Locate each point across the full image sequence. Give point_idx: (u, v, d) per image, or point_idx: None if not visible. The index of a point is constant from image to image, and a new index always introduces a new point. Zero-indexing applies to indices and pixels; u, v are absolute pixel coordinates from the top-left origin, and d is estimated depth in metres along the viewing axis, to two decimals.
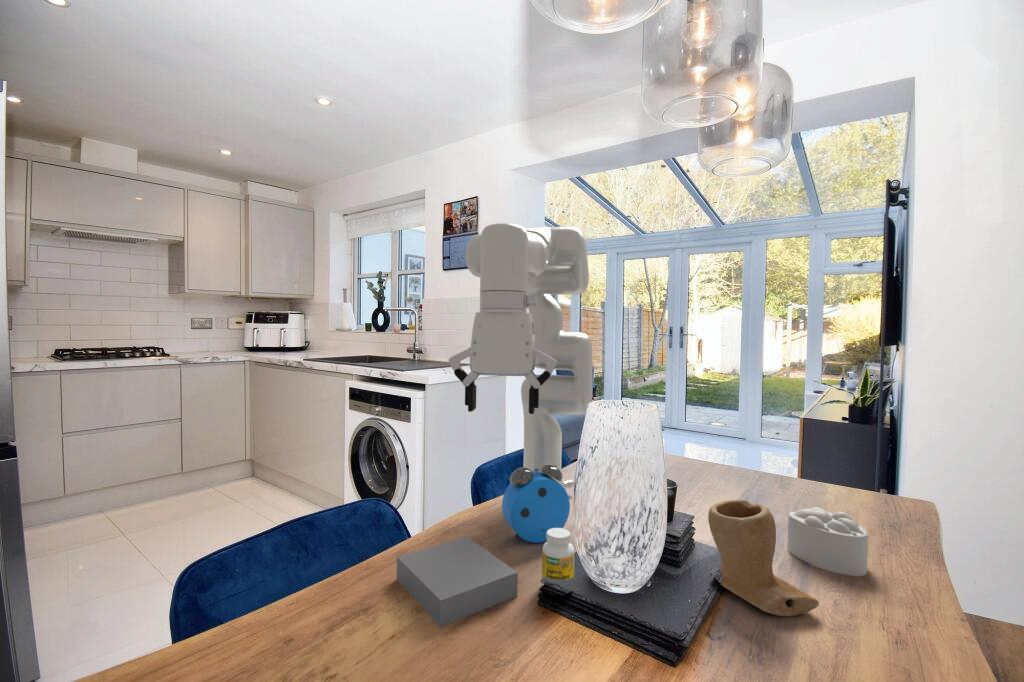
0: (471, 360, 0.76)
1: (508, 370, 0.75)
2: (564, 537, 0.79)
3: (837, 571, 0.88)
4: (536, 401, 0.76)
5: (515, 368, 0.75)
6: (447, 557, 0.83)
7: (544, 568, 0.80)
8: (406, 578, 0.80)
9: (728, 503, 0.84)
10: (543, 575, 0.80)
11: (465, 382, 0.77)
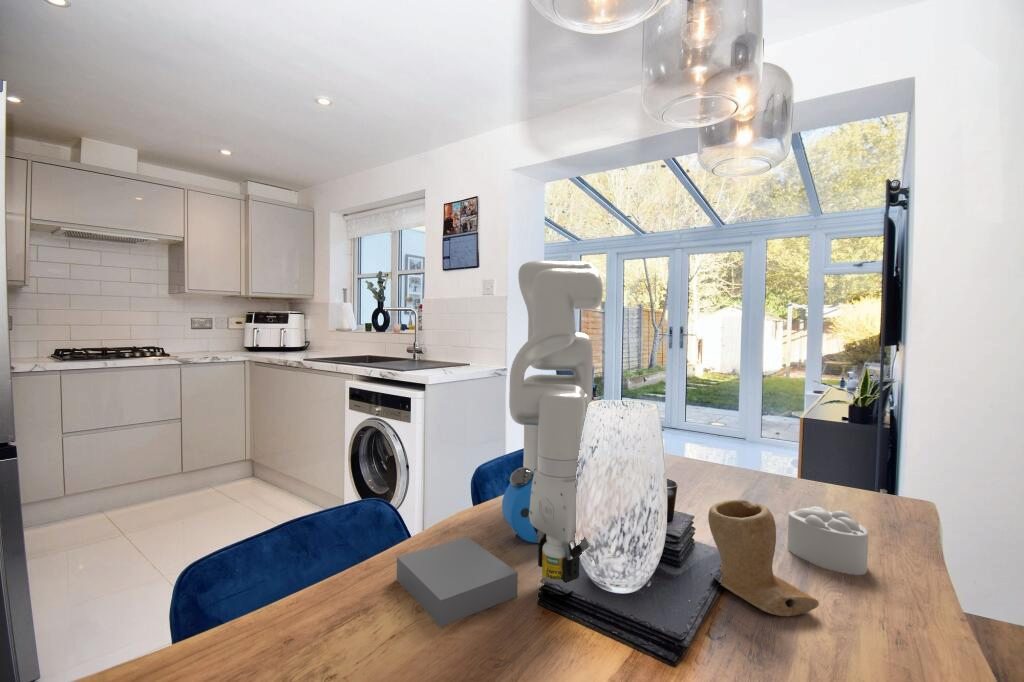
0: None
1: None
2: None
3: (838, 570, 0.88)
4: None
5: None
6: (447, 557, 0.83)
7: (544, 568, 0.80)
8: (406, 578, 0.80)
9: (728, 503, 0.84)
10: (543, 575, 0.80)
11: None
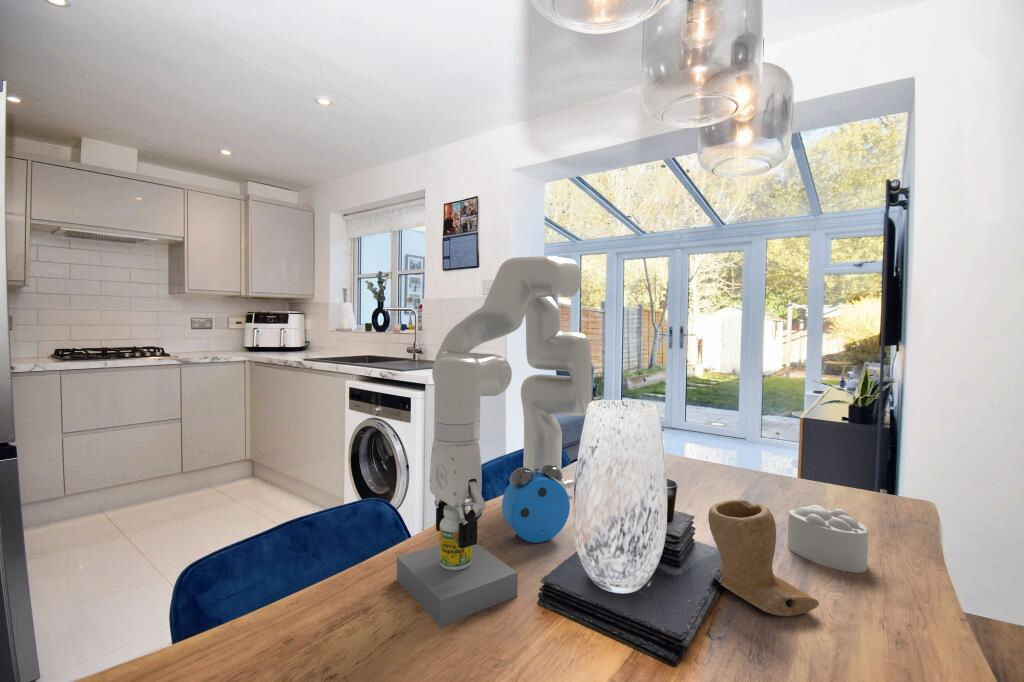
0: (481, 490, 0.78)
1: None
2: None
3: (839, 568, 0.89)
4: None
5: None
6: None
7: (440, 542, 0.80)
8: (406, 578, 0.80)
9: (728, 503, 0.84)
10: (440, 549, 0.80)
11: None
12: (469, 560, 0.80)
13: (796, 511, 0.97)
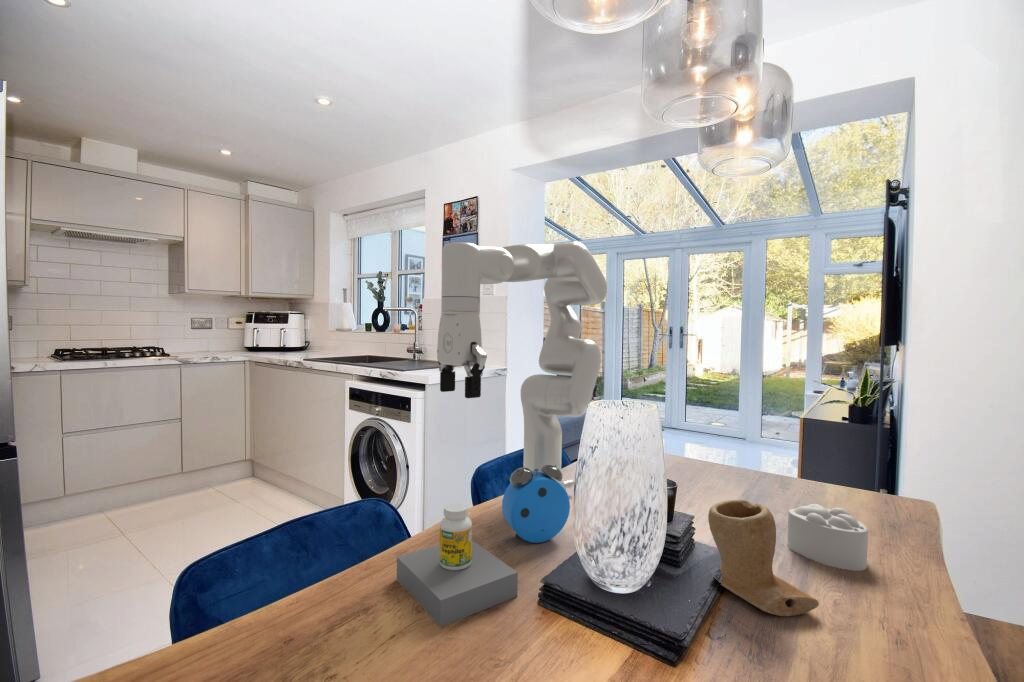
0: None
1: None
2: (459, 511, 0.79)
3: (840, 566, 0.90)
4: None
5: None
6: None
7: (440, 542, 0.80)
8: (406, 578, 0.80)
9: (728, 503, 0.84)
10: (440, 549, 0.80)
11: None
12: (469, 560, 0.80)
13: (796, 510, 0.98)
